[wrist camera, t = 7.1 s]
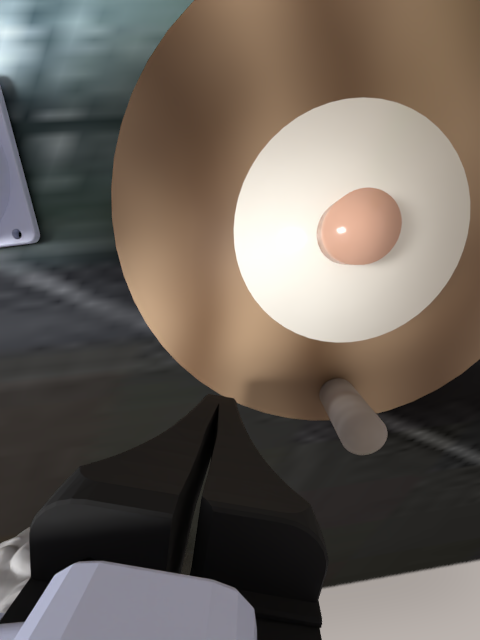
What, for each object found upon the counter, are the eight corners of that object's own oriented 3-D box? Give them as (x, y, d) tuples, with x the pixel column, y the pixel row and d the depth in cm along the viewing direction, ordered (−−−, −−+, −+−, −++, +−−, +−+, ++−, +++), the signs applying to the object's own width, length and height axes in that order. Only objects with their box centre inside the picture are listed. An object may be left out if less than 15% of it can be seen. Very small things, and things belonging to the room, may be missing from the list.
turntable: (162, 420, 15) (127, 481, 11) (81, 12, 11) (-28, -149, 7) (514, 393, 14) (632, 451, 10) (576, -80, 10) (836, -354, 5)
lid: (246, 332, 13) (245, 363, 9) (227, 154, 11) (215, 92, 7) (413, 316, 12) (491, 342, 8) (420, 127, 10) (523, 45, 6)
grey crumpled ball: (114, 568, 19) (39, 735, 12) (24, 553, 19) (-100, 710, 12) (118, 505, 18) (36, 653, 11) (21, 488, 18) (-119, 625, 11)
